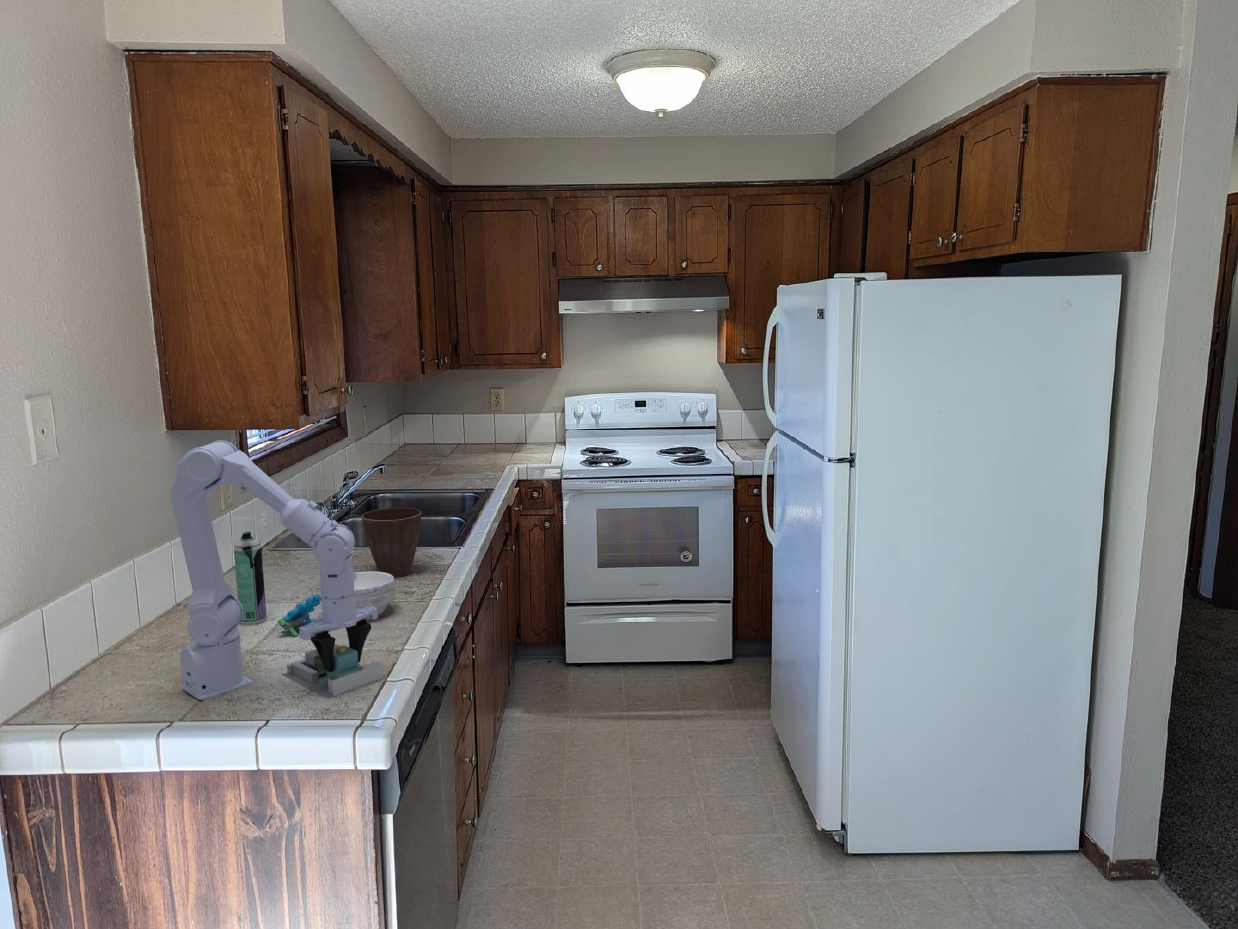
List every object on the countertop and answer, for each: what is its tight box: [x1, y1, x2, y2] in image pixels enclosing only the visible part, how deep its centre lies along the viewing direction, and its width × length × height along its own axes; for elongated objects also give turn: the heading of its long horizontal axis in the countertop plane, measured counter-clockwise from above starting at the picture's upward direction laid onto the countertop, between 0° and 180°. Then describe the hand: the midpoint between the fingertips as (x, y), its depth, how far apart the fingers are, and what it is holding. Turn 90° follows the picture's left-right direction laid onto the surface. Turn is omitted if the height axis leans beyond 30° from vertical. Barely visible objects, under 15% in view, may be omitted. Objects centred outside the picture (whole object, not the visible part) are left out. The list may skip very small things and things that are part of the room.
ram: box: [304, 643, 340, 677], centre depth 157 cm, size 6×4×8 cm, turn 140°
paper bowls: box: [354, 570, 396, 617], centre depth 189 cm, size 15×15×8 cm
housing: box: [327, 645, 359, 681], centre depth 153 cm, size 4×4×6 cm
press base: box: [281, 658, 388, 700], centre depth 155 cm, size 12×16×3 cm
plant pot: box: [361, 507, 422, 578], centre depth 219 cm, size 15×15×16 cm
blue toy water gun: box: [277, 593, 322, 638], centre depth 179 cm, size 11×6×10 cm
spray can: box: [233, 531, 267, 626], centre depth 184 cm, size 6×6×20 cm
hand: (342, 665), depth 153 cm, fingers open, 5 cm apart
